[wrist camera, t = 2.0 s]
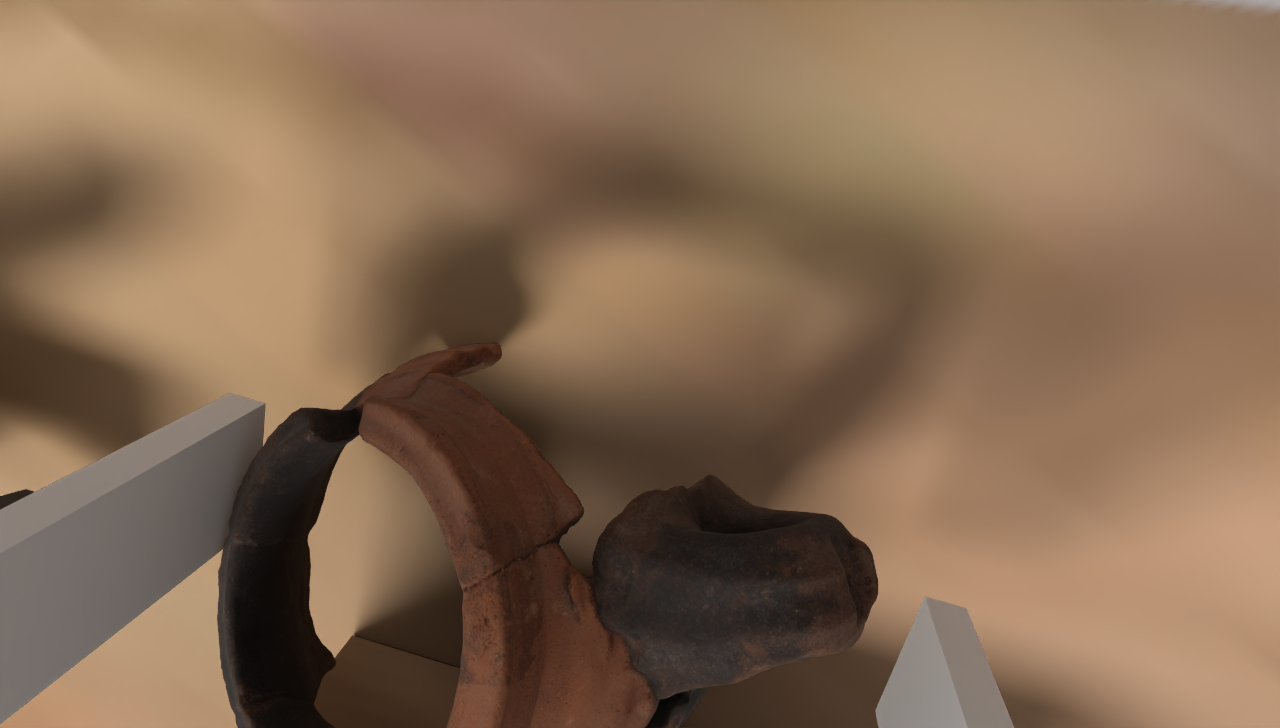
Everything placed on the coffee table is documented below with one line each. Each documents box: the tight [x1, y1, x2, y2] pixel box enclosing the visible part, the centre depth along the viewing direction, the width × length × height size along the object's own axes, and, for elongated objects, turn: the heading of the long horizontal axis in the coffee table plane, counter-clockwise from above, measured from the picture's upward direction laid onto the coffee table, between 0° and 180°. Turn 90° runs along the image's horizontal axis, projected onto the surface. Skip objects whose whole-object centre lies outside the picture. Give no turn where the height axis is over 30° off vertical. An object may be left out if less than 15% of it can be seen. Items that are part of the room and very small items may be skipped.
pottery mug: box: [217, 343, 878, 728], centre depth 15 cm, size 12×10×8 cm
